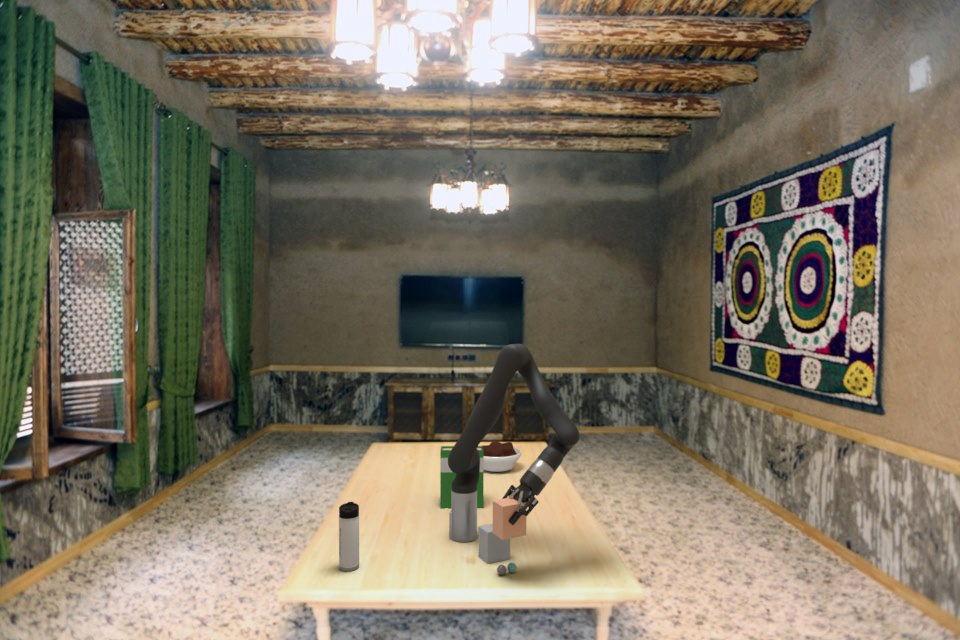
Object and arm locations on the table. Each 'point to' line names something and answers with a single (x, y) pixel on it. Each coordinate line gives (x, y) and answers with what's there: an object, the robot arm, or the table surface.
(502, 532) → the terracotta clay block
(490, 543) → the grey upright block
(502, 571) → the marble charcoal
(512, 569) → the marble teal
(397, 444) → the table surface
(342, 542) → the travel mug
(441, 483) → the hardback book
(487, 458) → the chocolate pudding bowl
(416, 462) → the table surface
